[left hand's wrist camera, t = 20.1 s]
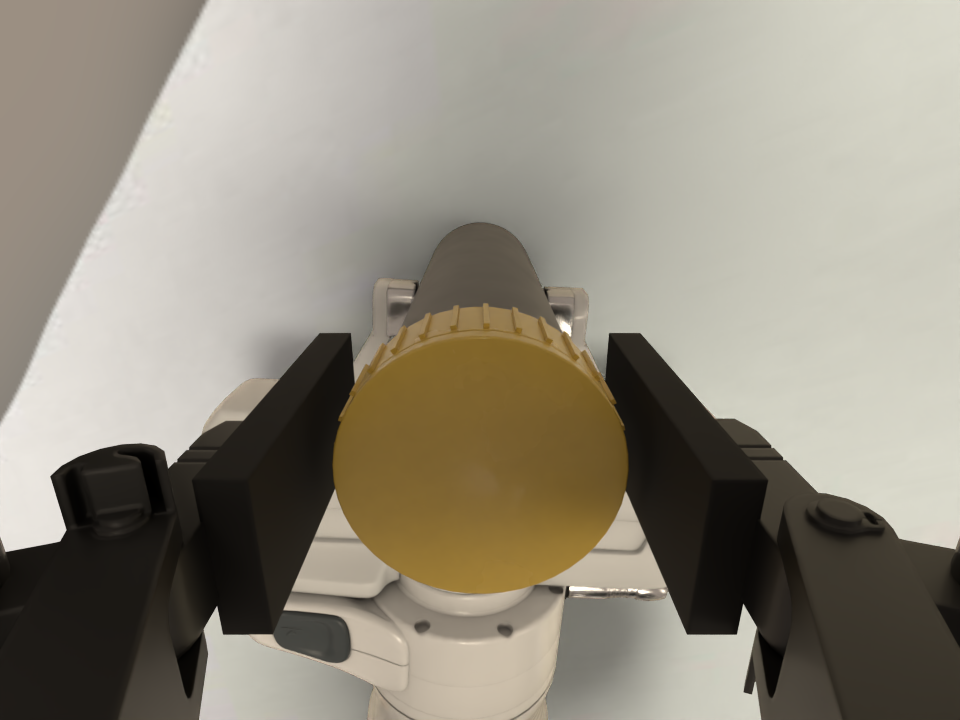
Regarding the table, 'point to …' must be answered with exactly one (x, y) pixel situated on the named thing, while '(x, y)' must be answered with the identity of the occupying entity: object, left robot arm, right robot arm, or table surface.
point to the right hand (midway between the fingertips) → (480, 285)
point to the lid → (480, 452)
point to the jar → (480, 276)
